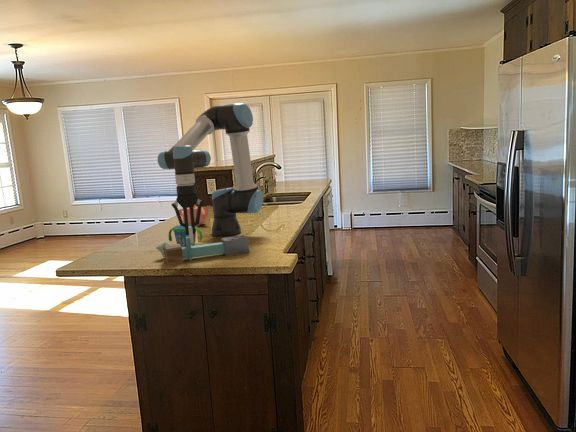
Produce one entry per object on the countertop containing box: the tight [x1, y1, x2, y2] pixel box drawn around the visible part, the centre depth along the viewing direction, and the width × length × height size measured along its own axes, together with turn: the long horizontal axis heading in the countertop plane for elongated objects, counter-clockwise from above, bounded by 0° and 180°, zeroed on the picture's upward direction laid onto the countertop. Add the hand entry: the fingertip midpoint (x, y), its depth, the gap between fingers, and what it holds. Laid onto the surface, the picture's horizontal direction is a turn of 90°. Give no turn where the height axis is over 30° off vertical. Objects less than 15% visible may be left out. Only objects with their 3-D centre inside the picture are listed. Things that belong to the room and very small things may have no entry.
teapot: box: [178, 204, 212, 228], centre depth 268 cm, size 13×20×12 cm, turn 80°
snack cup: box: [168, 224, 203, 247], centre depth 209 cm, size 16×10×10 cm
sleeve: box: [220, 235, 250, 257], centre depth 194 cm, size 7×10×6 cm, turn 110°
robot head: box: [155, 241, 172, 258], centre depth 193 cm, size 8×4×7 cm, turn 83°
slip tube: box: [182, 237, 225, 261], centre depth 190 cm, size 6×24×9 cm, turn 110°
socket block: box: [164, 243, 184, 265], centre depth 186 cm, size 7×6×6 cm
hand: (191, 242), depth 188 cm, fingers closed
